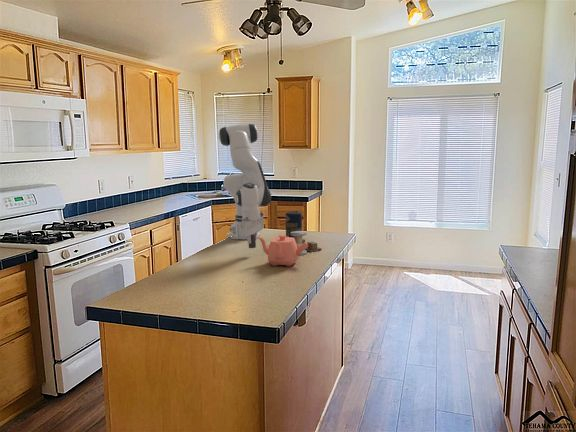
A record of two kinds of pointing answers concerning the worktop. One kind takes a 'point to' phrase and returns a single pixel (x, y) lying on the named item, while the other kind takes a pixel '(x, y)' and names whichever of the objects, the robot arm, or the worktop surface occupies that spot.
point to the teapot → (282, 250)
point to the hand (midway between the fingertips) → (252, 242)
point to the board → (311, 246)
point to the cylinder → (253, 241)
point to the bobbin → (299, 239)
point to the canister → (293, 222)
